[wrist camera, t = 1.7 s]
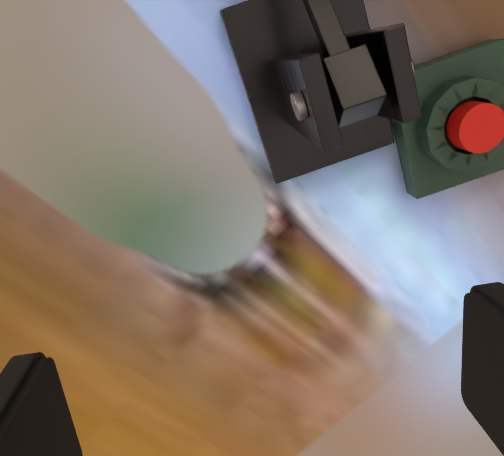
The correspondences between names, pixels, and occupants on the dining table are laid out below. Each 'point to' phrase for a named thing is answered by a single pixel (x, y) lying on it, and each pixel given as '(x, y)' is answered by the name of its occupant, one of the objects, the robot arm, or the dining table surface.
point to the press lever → (345, 67)
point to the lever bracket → (314, 83)
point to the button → (476, 126)
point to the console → (438, 112)
